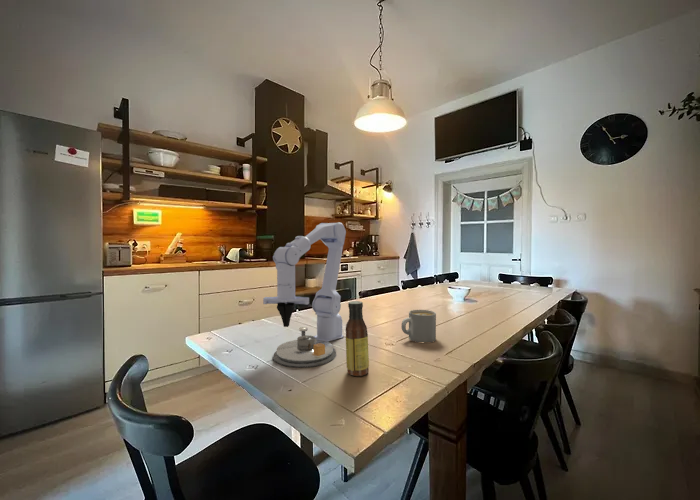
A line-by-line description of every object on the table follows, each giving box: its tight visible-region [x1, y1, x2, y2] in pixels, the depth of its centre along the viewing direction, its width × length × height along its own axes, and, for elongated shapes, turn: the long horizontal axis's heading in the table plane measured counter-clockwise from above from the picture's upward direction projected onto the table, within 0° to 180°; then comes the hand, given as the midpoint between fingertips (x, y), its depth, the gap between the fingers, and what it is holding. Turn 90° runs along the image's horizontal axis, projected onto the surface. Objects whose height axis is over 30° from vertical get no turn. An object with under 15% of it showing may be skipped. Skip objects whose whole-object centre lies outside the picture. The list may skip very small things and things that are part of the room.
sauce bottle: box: [345, 300, 370, 377], centre depth 86 cm, size 6×6×20 cm
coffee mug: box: [401, 309, 437, 343], centre depth 116 cm, size 13×10×10 cm
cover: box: [296, 334, 315, 351], centre depth 99 cm, size 6×6×4 cm
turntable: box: [276, 339, 334, 363], centre depth 100 cm, size 18×18×4 cm
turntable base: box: [273, 347, 337, 369], centre depth 100 cm, size 20×20×1 cm
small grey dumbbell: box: [298, 326, 308, 336], centre depth 112 cm, size 3×3×5 cm
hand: (286, 326), depth 100 cm, fingers closed
